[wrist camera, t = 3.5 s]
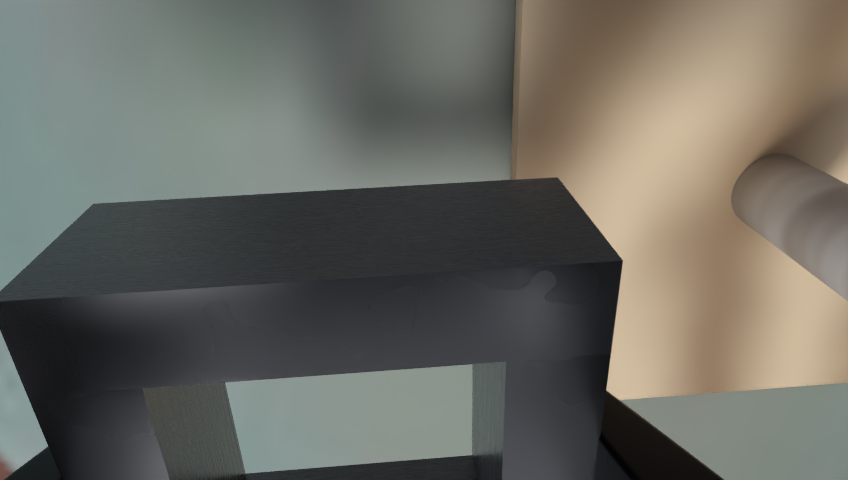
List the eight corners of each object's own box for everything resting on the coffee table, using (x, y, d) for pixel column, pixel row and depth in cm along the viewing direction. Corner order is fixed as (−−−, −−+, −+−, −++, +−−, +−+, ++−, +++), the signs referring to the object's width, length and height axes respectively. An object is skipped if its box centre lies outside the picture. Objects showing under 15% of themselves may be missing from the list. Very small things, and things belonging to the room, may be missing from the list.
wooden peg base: (1102, -112, 16) (1482, -141, 11) (911, 363, 24) (1080, 496, 18) (518, -93, 16) (600, -112, 10) (503, 393, 23) (545, 542, 17)
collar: (557, 177, 9) (623, 261, 6) (535, 496, 11) (575, 632, 9) (93, 203, 8) (-12, 302, 6) (189, 526, 11) (143, 675, 9)
